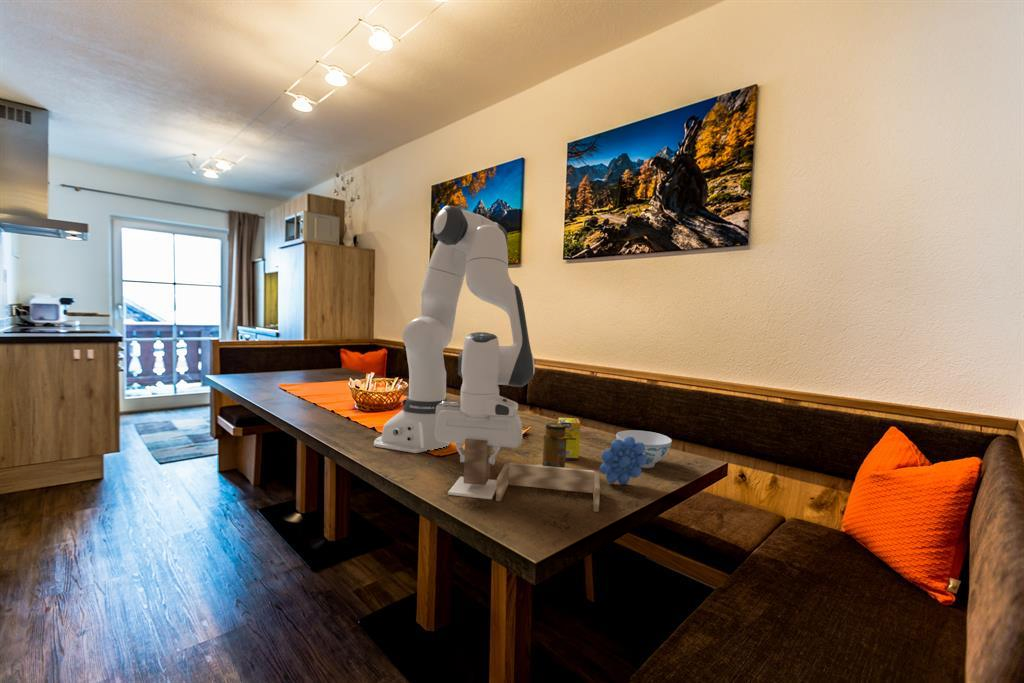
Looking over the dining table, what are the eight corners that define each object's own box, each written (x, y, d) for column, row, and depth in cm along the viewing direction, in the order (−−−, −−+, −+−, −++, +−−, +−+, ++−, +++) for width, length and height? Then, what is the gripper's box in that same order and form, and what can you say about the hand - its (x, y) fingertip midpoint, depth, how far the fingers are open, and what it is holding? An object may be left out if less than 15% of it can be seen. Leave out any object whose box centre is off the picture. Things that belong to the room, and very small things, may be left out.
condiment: (561, 464, 125) (563, 421, 124) (573, 475, 116) (575, 429, 116) (536, 465, 123) (538, 421, 122) (546, 476, 115) (548, 429, 114)
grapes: (639, 478, 116) (642, 432, 115) (649, 488, 109) (652, 439, 108) (594, 477, 115) (597, 431, 114) (601, 487, 108) (603, 438, 108)
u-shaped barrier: (495, 500, 98) (496, 478, 98) (504, 482, 109) (505, 462, 109) (598, 511, 95) (599, 488, 94) (597, 491, 106) (598, 471, 105)
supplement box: (579, 461, 128) (580, 422, 127) (557, 460, 128) (559, 422, 127) (576, 454, 134) (578, 418, 133) (556, 453, 134) (558, 417, 133)
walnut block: (463, 483, 103) (464, 439, 102) (469, 475, 107) (470, 434, 107) (485, 485, 102) (486, 441, 101) (489, 477, 107) (491, 435, 106)
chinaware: (677, 463, 129) (678, 437, 129) (659, 477, 117) (661, 448, 117) (627, 452, 138) (628, 427, 138) (606, 464, 126) (607, 437, 126)
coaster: (448, 494, 100) (448, 492, 100) (460, 478, 110) (460, 476, 110) (491, 499, 99) (492, 496, 99) (500, 483, 109) (500, 480, 109)
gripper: (431, 403, 102) (429, 463, 103) (521, 409, 99) (518, 471, 100) (440, 398, 108) (438, 454, 109) (524, 403, 105) (522, 462, 106)
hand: (477, 462), depth 104 cm, fingers closed on walnut block, 5 cm apart
